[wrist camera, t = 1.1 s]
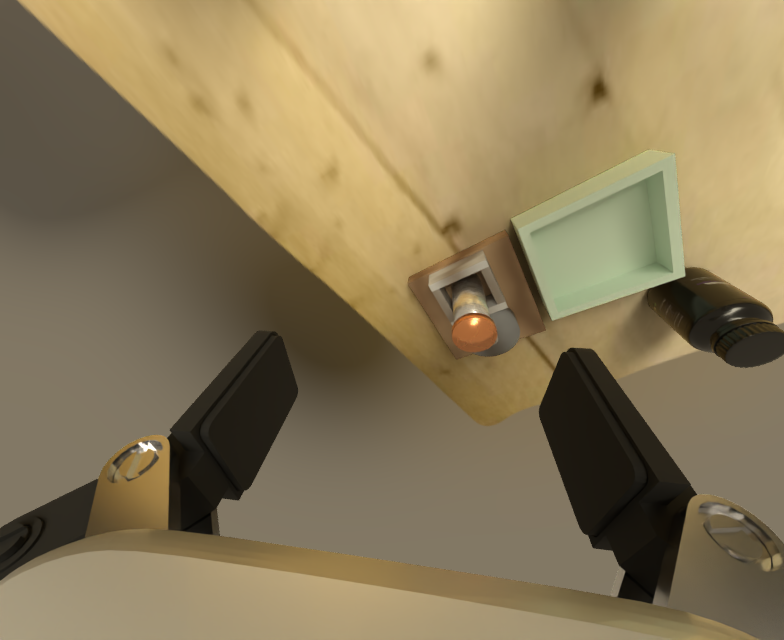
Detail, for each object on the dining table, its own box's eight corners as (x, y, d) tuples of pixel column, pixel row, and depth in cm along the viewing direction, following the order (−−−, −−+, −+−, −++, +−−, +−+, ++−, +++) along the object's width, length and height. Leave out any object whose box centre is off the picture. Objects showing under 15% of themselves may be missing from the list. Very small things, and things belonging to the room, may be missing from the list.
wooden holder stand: (505, 229, 35) (514, 246, 31) (542, 322, 42) (554, 346, 38) (408, 277, 41) (405, 296, 36) (455, 351, 48) (457, 375, 44)
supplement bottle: (708, 255, 34) (816, 311, 24) (711, 298, 37) (807, 363, 27) (640, 280, 37) (711, 338, 27) (647, 318, 39) (714, 382, 30)
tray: (648, 149, 29) (675, 153, 25) (662, 261, 35) (685, 276, 32) (510, 218, 34) (517, 229, 31) (543, 304, 40) (552, 320, 37)
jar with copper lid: (476, 264, 36) (487, 311, 27) (489, 291, 38) (504, 344, 29) (443, 279, 38) (444, 328, 29) (457, 304, 40) (462, 357, 31)
